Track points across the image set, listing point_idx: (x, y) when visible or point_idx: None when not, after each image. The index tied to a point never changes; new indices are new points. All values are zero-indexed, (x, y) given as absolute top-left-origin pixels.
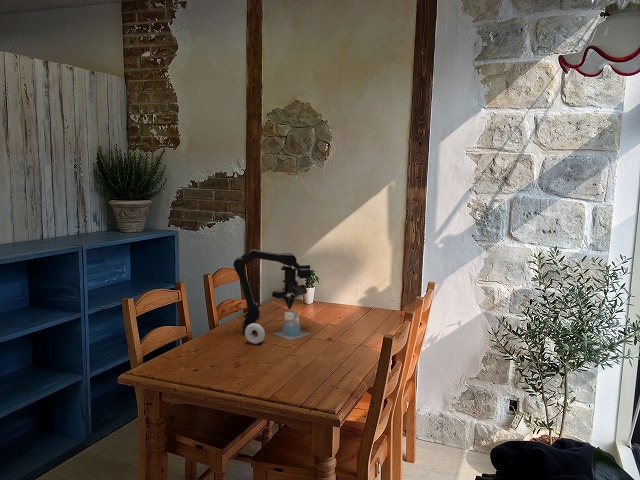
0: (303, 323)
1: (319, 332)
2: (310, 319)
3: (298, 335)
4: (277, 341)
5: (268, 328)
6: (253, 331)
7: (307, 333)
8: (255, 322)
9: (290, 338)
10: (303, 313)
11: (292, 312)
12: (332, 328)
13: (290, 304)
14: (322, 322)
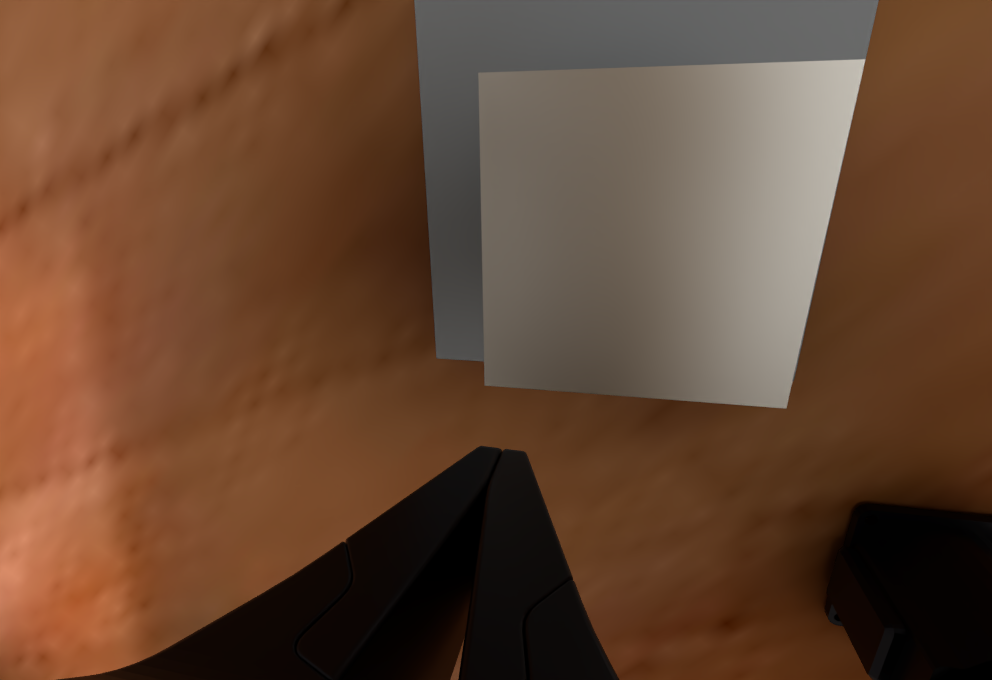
0: (224, 407)
1: (249, 20)
2: (106, 440)
3: (614, 41)
4: (978, 122)
5: (604, 547)
6: (961, 552)
7: (447, 22)
8: (952, 660)
9: (826, 3)
10: (84, 580)
11: (650, 212)
12: (33, 36)
13: (493, 529)
14: (44, 294)
